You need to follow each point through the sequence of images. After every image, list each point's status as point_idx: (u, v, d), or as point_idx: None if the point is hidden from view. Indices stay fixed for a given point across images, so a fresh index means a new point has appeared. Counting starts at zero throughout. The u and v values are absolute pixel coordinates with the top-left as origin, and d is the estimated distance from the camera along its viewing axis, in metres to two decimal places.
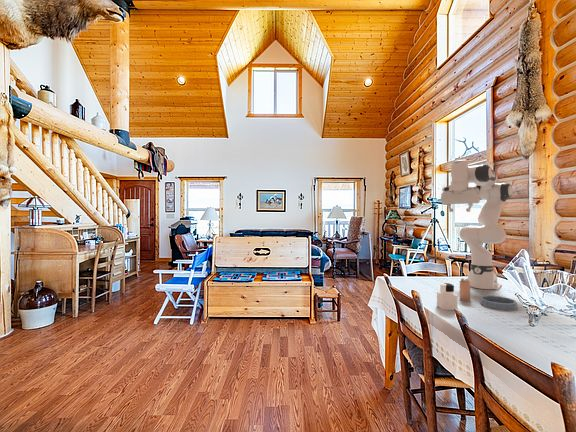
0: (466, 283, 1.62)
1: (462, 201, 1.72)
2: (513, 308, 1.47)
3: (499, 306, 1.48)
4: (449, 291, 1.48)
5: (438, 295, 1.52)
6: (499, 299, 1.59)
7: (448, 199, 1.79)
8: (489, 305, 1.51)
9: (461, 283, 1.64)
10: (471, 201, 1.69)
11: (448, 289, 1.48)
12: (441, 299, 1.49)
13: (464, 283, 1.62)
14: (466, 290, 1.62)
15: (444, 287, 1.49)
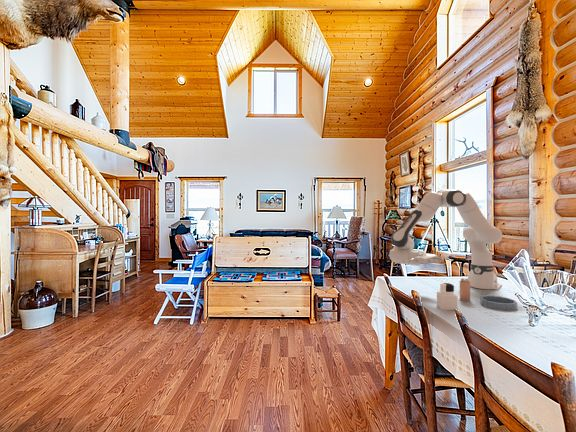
0: (466, 283, 1.62)
1: None
2: (513, 308, 1.47)
3: (499, 306, 1.48)
4: (449, 291, 1.48)
5: (438, 295, 1.52)
6: (499, 299, 1.59)
7: None
8: (489, 305, 1.51)
9: (461, 283, 1.64)
10: None
11: (448, 289, 1.48)
12: (441, 299, 1.49)
13: (464, 283, 1.62)
14: (466, 290, 1.62)
15: (444, 287, 1.49)
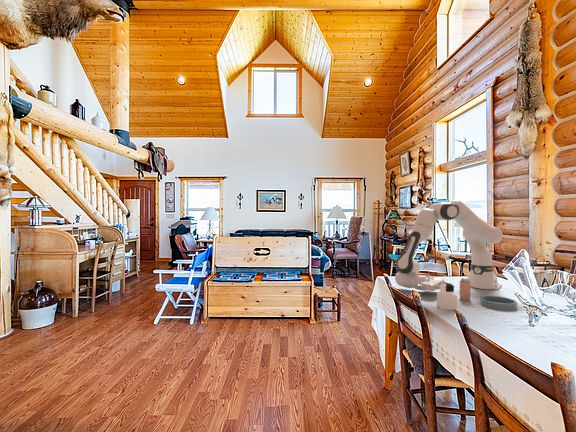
0: (466, 283, 1.62)
1: None
2: (513, 308, 1.47)
3: (499, 306, 1.48)
4: (449, 291, 1.48)
5: (438, 295, 1.52)
6: (499, 299, 1.59)
7: None
8: (489, 305, 1.51)
9: (461, 283, 1.64)
10: None
11: (448, 289, 1.48)
12: (441, 299, 1.49)
13: (464, 283, 1.63)
14: (466, 290, 1.62)
15: (444, 287, 1.49)
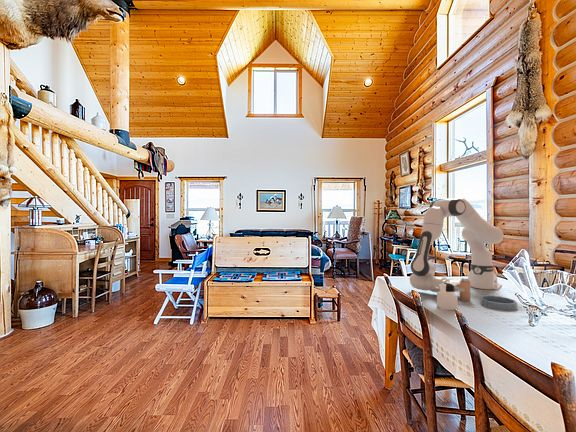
0: (466, 283, 1.62)
1: None
2: (513, 308, 1.47)
3: (499, 306, 1.48)
4: (449, 291, 1.48)
5: (438, 295, 1.52)
6: (499, 299, 1.59)
7: None
8: (489, 305, 1.51)
9: (461, 283, 1.64)
10: None
11: (448, 289, 1.48)
12: (441, 299, 1.49)
13: (464, 283, 1.62)
14: (466, 290, 1.62)
15: (444, 287, 1.49)
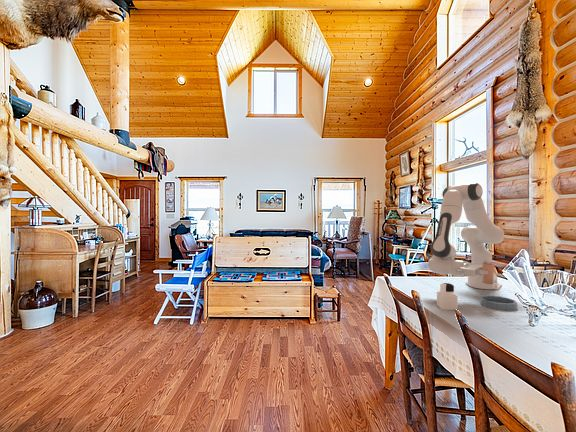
0: (490, 265, 1.55)
1: None
2: (513, 308, 1.47)
3: (499, 306, 1.48)
4: (449, 291, 1.48)
5: (438, 295, 1.52)
6: (499, 299, 1.59)
7: None
8: (489, 305, 1.51)
9: (484, 265, 1.56)
10: None
11: (448, 289, 1.48)
12: (441, 299, 1.49)
13: (487, 265, 1.55)
14: (490, 272, 1.55)
15: (444, 287, 1.49)
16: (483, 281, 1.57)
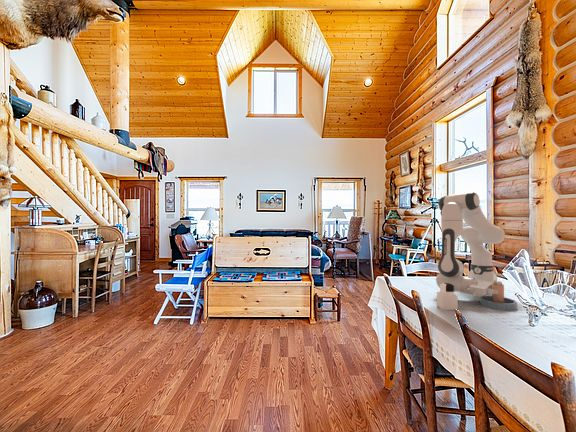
0: (500, 286, 1.52)
1: None
2: (513, 308, 1.47)
3: (499, 306, 1.48)
4: (449, 291, 1.48)
5: (438, 295, 1.52)
6: None
7: None
8: (489, 305, 1.51)
9: (494, 286, 1.53)
10: None
11: (448, 289, 1.48)
12: (441, 299, 1.49)
13: (498, 286, 1.52)
14: (500, 294, 1.52)
15: (444, 287, 1.49)
16: None
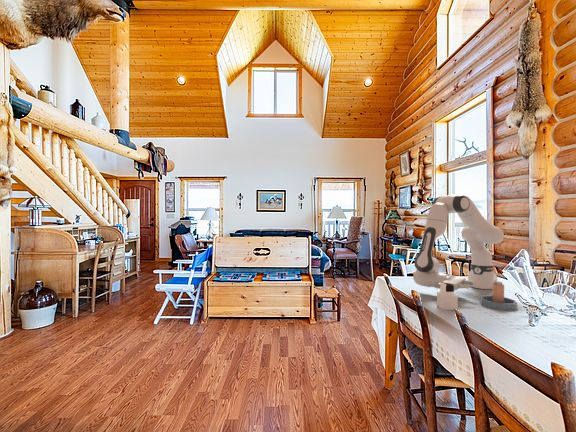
0: (500, 286, 1.52)
1: None
2: (513, 308, 1.47)
3: (499, 306, 1.48)
4: (449, 291, 1.48)
5: (438, 295, 1.52)
6: None
7: None
8: (489, 305, 1.51)
9: (494, 286, 1.53)
10: None
11: (448, 289, 1.48)
12: (441, 299, 1.49)
13: (498, 286, 1.52)
14: (500, 294, 1.52)
15: (444, 287, 1.49)
16: None
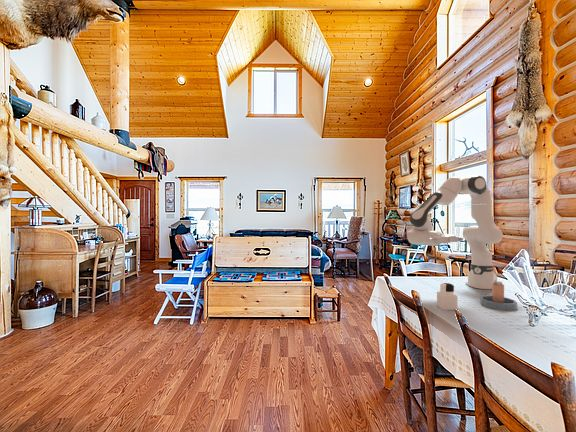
0: (500, 286, 1.52)
1: None
2: (513, 308, 1.47)
3: (499, 306, 1.48)
4: (449, 291, 1.48)
5: (438, 295, 1.52)
6: None
7: None
8: (489, 305, 1.51)
9: (494, 286, 1.53)
10: None
11: (448, 289, 1.48)
12: (441, 299, 1.49)
13: (498, 286, 1.52)
14: (500, 294, 1.52)
15: (444, 287, 1.49)
16: None
